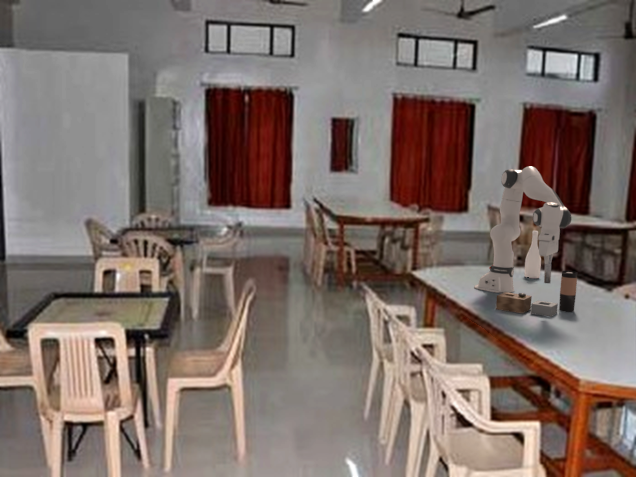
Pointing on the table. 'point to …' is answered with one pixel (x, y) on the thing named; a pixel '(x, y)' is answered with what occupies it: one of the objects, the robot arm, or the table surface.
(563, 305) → the travel mug
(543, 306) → the grey square ring block
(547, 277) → the grey tapered rounded rod
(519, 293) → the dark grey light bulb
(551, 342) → the table surface
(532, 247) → the wine bottle
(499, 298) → the socket block
